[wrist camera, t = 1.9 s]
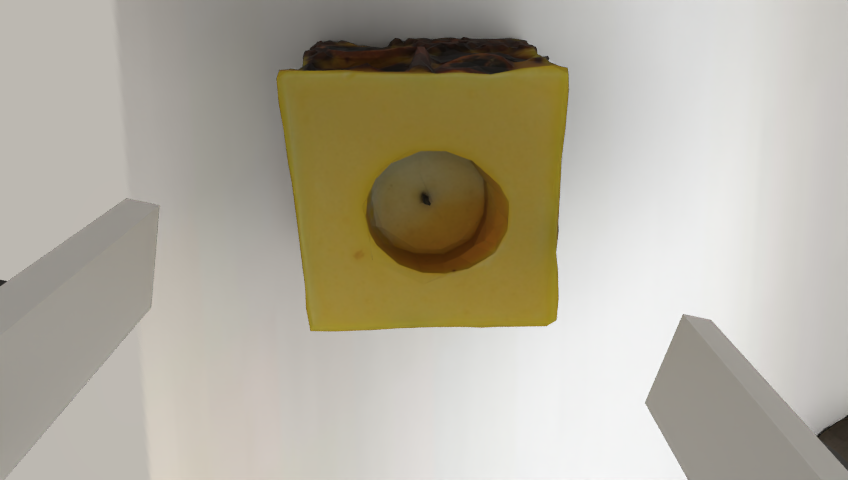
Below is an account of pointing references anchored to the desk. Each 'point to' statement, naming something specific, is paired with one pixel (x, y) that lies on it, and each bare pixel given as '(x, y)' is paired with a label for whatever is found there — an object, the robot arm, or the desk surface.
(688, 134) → the desk surface
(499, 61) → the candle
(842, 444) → the pillar candle
